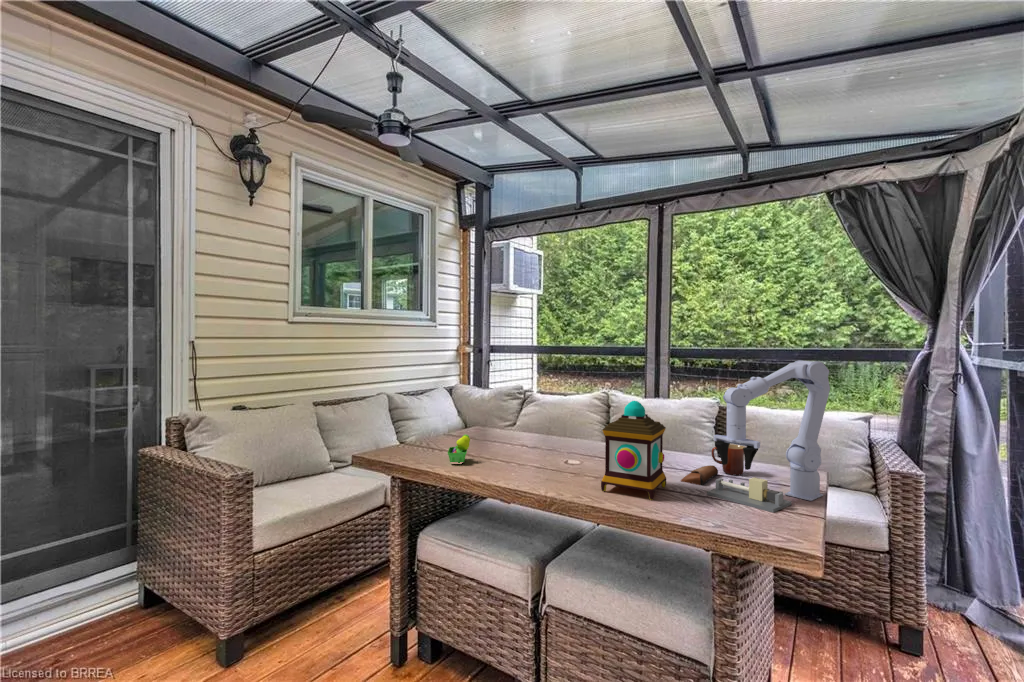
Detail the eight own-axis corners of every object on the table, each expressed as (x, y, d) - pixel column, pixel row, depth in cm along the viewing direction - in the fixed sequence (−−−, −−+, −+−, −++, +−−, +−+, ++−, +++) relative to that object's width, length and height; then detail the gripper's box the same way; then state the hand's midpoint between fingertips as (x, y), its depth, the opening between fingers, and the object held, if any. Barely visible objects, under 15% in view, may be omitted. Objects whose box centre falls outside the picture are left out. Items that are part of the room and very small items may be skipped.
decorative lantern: (656, 503, 148) (656, 405, 149) (595, 492, 159) (596, 401, 159) (671, 486, 165) (671, 399, 166) (615, 477, 176) (616, 396, 176)
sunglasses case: (695, 471, 186) (704, 457, 184) (711, 483, 182) (721, 469, 180) (679, 481, 172) (688, 467, 170) (696, 495, 168) (706, 480, 166)
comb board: (706, 494, 157) (706, 480, 157) (725, 487, 164) (726, 474, 164) (773, 512, 140) (773, 497, 140) (791, 504, 148) (791, 490, 148)
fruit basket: (449, 458, 203) (449, 432, 203) (470, 458, 203) (470, 432, 203) (447, 465, 191) (447, 437, 191) (469, 465, 192) (469, 437, 192)
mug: (744, 471, 186) (744, 445, 186) (747, 477, 177) (747, 449, 177) (710, 468, 190) (710, 442, 190) (712, 474, 181) (712, 447, 181)
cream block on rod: (748, 497, 150) (749, 479, 150) (754, 495, 153) (754, 477, 153) (761, 501, 147) (762, 482, 147) (767, 499, 149) (767, 480, 149)
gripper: (708, 422, 159) (708, 463, 159) (752, 429, 148) (752, 473, 148) (719, 421, 164) (719, 460, 164) (763, 427, 152) (763, 469, 152)
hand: (736, 466), depth 156 cm, fingers open, 7 cm apart
